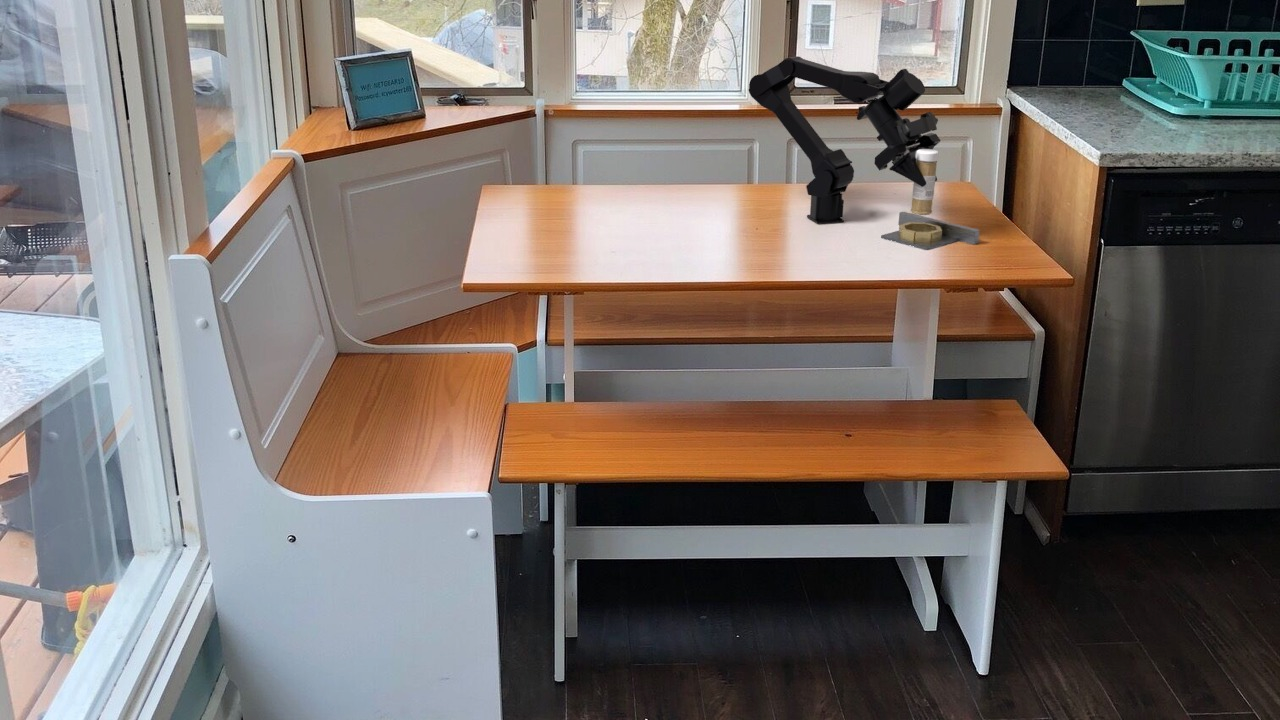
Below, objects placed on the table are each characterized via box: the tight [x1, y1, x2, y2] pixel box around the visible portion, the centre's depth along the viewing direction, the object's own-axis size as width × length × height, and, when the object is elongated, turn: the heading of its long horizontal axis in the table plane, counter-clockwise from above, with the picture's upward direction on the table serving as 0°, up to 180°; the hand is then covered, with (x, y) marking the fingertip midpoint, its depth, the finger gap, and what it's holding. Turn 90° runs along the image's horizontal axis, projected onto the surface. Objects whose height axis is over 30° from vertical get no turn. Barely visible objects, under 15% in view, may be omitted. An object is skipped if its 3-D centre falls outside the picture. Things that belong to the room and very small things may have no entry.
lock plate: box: [880, 211, 980, 251], centre depth 260 cm, size 20×12×3 cm, turn 41°
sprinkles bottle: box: [910, 148, 939, 216], centre depth 255 cm, size 5×5×13 cm
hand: (930, 183), depth 254 cm, fingers closed on sprinkles bottle, 4 cm apart
